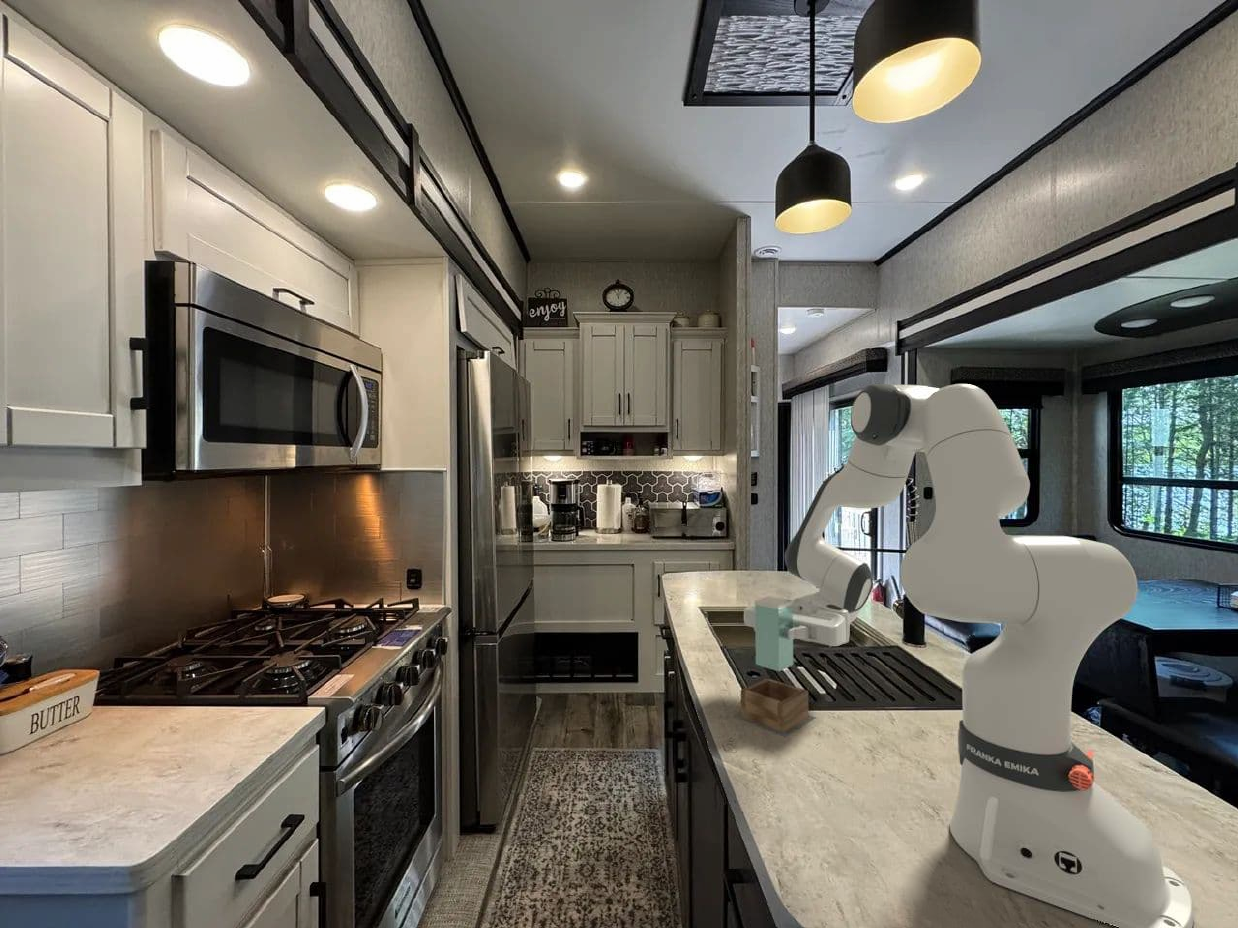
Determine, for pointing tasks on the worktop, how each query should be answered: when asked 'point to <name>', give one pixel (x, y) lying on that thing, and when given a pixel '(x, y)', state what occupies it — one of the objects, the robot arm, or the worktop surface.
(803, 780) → the worktop surface
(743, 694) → the open wooden box
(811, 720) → the mat
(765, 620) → the tea tin
